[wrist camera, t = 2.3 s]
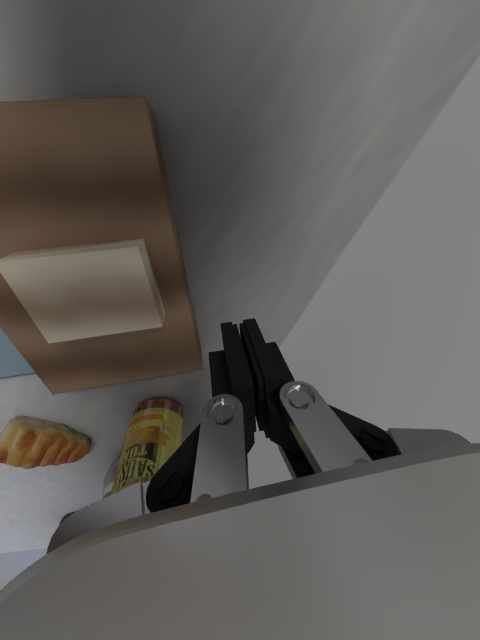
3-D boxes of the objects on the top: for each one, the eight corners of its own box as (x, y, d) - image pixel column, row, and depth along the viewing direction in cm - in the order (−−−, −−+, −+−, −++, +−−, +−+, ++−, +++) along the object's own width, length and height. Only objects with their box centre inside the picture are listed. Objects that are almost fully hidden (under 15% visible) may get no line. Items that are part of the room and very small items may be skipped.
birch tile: (15, 251, 15) (-7, 262, 13) (143, 238, 16) (137, 246, 14) (61, 327, 18) (48, 343, 17) (165, 313, 19) (162, 326, 17)
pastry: (101, 427, 30) (90, 457, 27) (84, 453, 33) (72, 484, 29) (12, 409, 26) (-13, 443, 23) (1, 441, 28) (-23, 475, 25)
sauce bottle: (160, 386, 28) (115, 704, 11) (193, 410, 31) (194, 680, 15) (119, 411, 29) (23, 733, 12) (155, 431, 32) (117, 705, 16)
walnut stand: (-104, 120, 13) (-174, 108, 10) (151, 108, 14) (143, 96, 12) (67, 371, 24) (52, 394, 22) (201, 349, 26) (202, 369, 23)
